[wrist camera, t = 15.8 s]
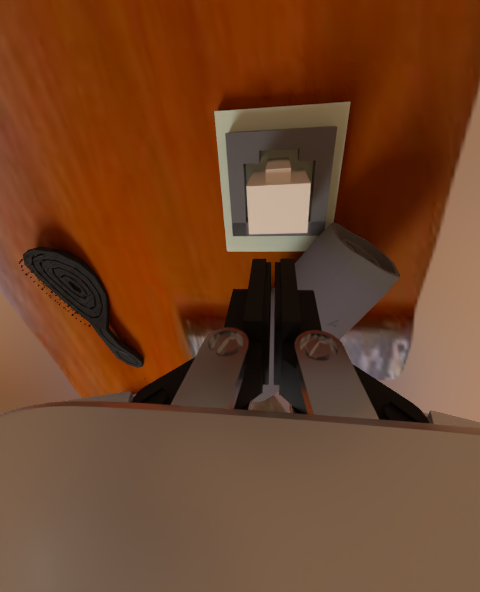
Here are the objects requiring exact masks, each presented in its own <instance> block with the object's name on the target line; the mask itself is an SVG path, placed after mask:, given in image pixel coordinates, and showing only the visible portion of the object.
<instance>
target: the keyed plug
mask: <svg viewBox="0 0 480 592" xmlns="http://www.w3.org/2000/svg"><path fill="white" fill-rule="evenodd" d="M310 187H311V182H310V180H309V178H308V176H307V174H306V171H305V169H304V168H295V169H291V166H290V161H289V158H275V159H268V161H267V165H266V169H265V170H261V171H253V173H252V175H251V177H250V179H249V182H248V184H247V186H246V190H247V207H248V225H249V234H287V233H307V231H308V216H309V202H310Z"/></svg>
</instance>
